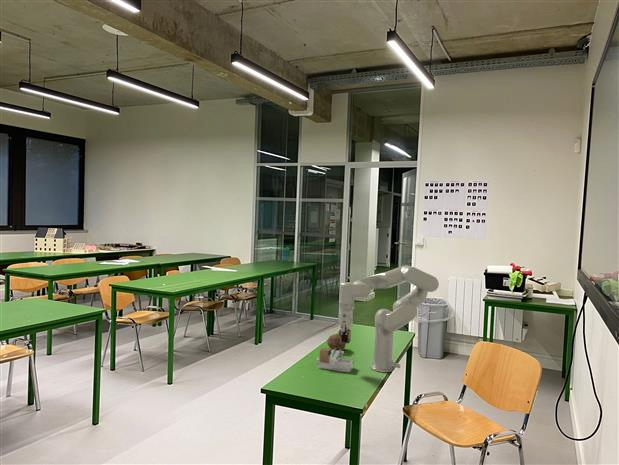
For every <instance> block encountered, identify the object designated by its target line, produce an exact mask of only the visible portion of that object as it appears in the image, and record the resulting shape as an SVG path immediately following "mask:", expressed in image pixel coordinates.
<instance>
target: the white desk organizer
mask: <svg viewBox="0 0 619 465" xmlns="http://www.w3.org/2000/svg"><path fill="white" fill-rule="evenodd" d="M328 348H329V347H321V348H320V349H319V357H320V358H319V361H317V368H318V369H323V370H329V371H334V372H335V371H337V372H344V373H351V372H352V370H353V368H354V359H349V358H343V357H342V358H338V359H337V360H334V359H330V355H331V353H332V349H331V348H329V349H328Z"/></svg>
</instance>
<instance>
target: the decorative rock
mask: <svg viewBox="0 0 619 465" xmlns="http://www.w3.org/2000/svg"><path fill="white" fill-rule="evenodd" d="M326 343H327V345H328V346H327V347H328V348H329V349H332V350H334V349H335V350H338V351H340V350H341V351H345V348H346V345H347V343H340V335H339V333H336V334H332V335H330V336H329V337H328V338H327V340H326Z"/></svg>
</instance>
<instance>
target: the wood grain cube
mask: <svg viewBox="0 0 619 465" xmlns="http://www.w3.org/2000/svg"><path fill="white" fill-rule="evenodd" d="M345 331H346V330H345ZM338 334H339V335H340V343H345V342H341V335H342V329H341V328H340V329H339V331H338ZM347 335H348V342H347V343H346V344H350V343H351V335H352V330H351V329H350V330H348V331H347Z"/></svg>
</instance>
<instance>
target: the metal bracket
mask: <svg viewBox="0 0 619 465" xmlns="http://www.w3.org/2000/svg"><path fill="white" fill-rule="evenodd" d="M327 348H328V349H330V347H327ZM344 354H345V350H343V351H341V350H335V349H334V350H332V353H331V355H330V359H334V360H337V359H338V358H343V356H344ZM319 358H320V356H319V357H318V356H317V357H316V359H315V360H316V361H317V362H319Z"/></svg>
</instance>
